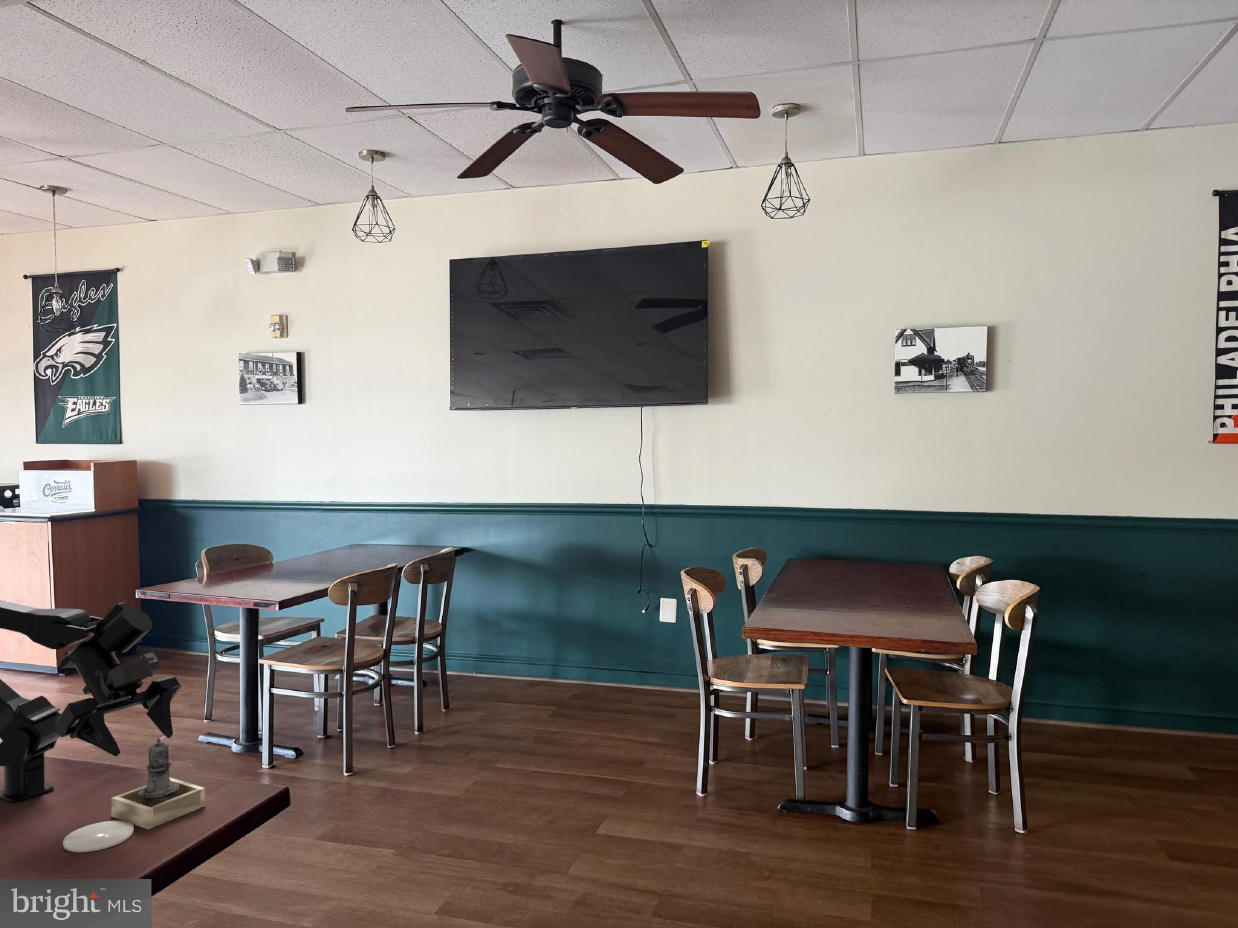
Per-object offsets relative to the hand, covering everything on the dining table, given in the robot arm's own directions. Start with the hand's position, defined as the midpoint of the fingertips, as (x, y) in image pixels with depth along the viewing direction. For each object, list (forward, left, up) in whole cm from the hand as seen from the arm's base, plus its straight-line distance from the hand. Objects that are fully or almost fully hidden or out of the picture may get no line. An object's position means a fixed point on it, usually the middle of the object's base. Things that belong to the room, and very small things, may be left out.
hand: (145, 745), depth 134 cm
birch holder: (+4, 0, -10) cm, 11 cm away
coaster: (+5, -10, -10) cm, 15 cm away
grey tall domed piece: (+4, 0, -10) cm, 11 cm away
